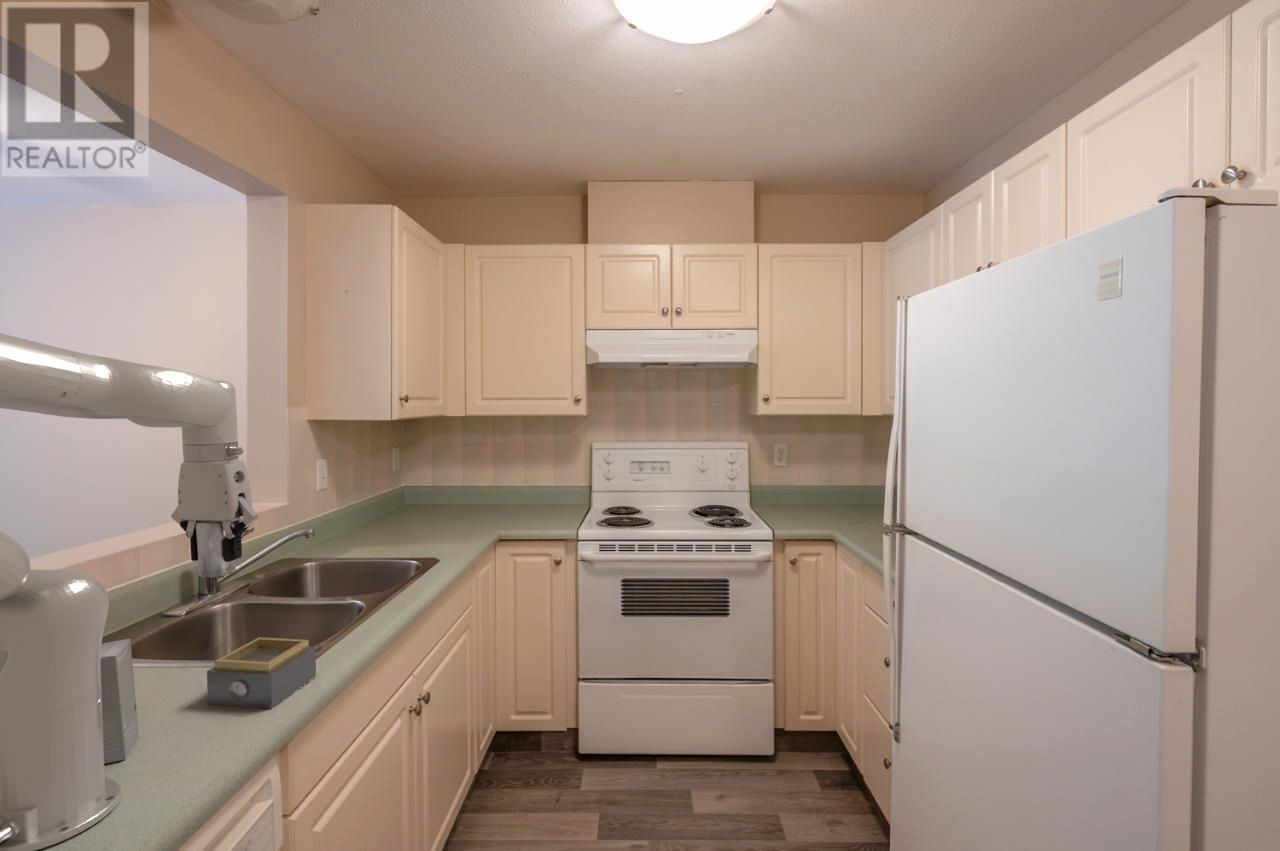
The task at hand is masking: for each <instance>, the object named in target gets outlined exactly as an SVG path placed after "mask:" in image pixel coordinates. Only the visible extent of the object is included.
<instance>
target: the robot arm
mask: <svg viewBox="0 0 1280 851" xmlns="http://www.w3.org/2000/svg"><path fill="white" fill-rule="evenodd" d="M236 395H237V394H236V388H235V386H234V385H233V383H231V382H230V381H225V380H215V379H213V378H210V377H206V376H203V375H198V374H195V373H190V372H187V371H183V370H178V369H174V368H173V369H172V368H167V367H162V366H156V365H150V364H143V363H137V362H133V361H128V360H124V359H123V360H121V359H118V358H113V357H107V356H101V355H92V354H88V353H87V354H86V353H85V352H84V353H83V352H80V351H79V352H78V351H74V350H70V349H65V348H61V347H57V346H53V345H49V344H45V343H41V342H37V341H33V340H28V339H25V338H21V337H18V336H13V335H9V334H5V333H1V332H0V409H4V410H5V409H6V410H13V411H20V412H29V413H35V414H36V413H37V414H42V415H50V416H56V417H61V418H63V417H64V418H76V419H77V418H79V419H87V420H90V419H91V420H119V419H120V420H122V419H124V420H126V419H127V420H128V421H130V422H131V423H133V424H135V425H139V426H141V427H146V428H147V427H148V428H170V429H171V428H181V438H182V441H181V442H182V456H183V457H182V458H183V462H181V464H180V467H179V468H180V469H179V475H178V483H177V507H176V508H175V509H174V511H173V512H172V513H171V515H170V516H171V519H172V520H174V521H175V522H176V523H177V524H178V525H179V526H180V528H181V529H182V530H183V531H184V532H185V535H186V537H187V538H189V540H190V542H189V543H190V545H189V546H190V557H191V558H190V559H191V561H192V562H198V555H197V536H196V522H198V521H214V522H221V523H222V525H223V528H224V531H225V534H226V537H227V538H225V539H223V551H224V561H225V562H230V561H233V560H235V559H236V560H238V559H240V558H241V557H243V551H242V550H243V549H242V548H243V547H242V536H243V535H245V533H246V531H247V529H249V528H250V527H251V525H252V524H253V523H255V522H256V521H257V520H258V518H259V515H258V513H257V512H256V511H255V510H254V509H253V501H252V499H253V498H252V490H251V483H250V479H249V474H248V471H247V468H246V464H245V462H244V460H243V459H241V460H240V459H239V458H240V456H242V455H243V452H244V450H243V449H244V448H243V447H239V439H238V438H239V437H238V418H237V415H238V414H237V396H236ZM241 517H243V519H242V518H241ZM231 522H233V524H234V528H233V527H232V524H231ZM109 598H110V597H109V593H108V591H107V589H106V587H105V586H104V585H103V583H101V582H100V581H99V580H98V579H96V578H95V577H93V576H91V575H89V574H85V573H82V572H77V571H71V570H61V569H60V570H57V569H31V561H30V557H29V555H28V553H27V552H26V550H25V548H24V547H23V546H22V545H21V544H20V543H19V542H18V541H16V540H15V539H13V538H12V537H11V536H10V535H8V534H6V533H5V532H3V531H1V530H0V651H6V652H7V653H8V656H7V659H6V662H5V664H4V666H3V668H2V669H1V671H0V851H39V850H41V849H44V848H48V847H50V846H54V845H56V844H58V843H61V842H63V841H66V840H68V839H70V838H72V837H74V836H76V835H78V834H80V833H82V832H84V831H85V830H86V831H87V829H89V828H91V827H92V826H94V825H95V824H97V823H98V822H100V821H101V820H102V819H104V818H105V817H106V816H108V814H110V813H111V812H112V811H113V810H114V808H115V807H116V806H117V805H118V804H119V802H120V800H121V797H122V789H121V788H122V785H120V783H119V782H118V781H116V780H114V779H109V778H106V777H105V775H106V774H105V764H104V746H103V719H102V692H101V663H100V660H101V645H102V642H103V638H104V637H103V636H104V631H105V627H106V623H107V622H106V621H107V619H108V618H107V617H108V613H109V606H110V599H109Z"/></svg>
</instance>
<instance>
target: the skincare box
mask: <svg viewBox="0 0 1280 851" xmlns="http://www.w3.org/2000/svg"><path fill="white" fill-rule="evenodd" d="M132 651H133V650H132V638H130V637H129V638H124V639H119V640H113V641H108V642H103V643H102V645H101V660H100V663H101V692H102V719H103V746H104V765H105V764H109V763H114V762H118V761H124V760H126V759H127V757H128V755H129V753H130V751H131V749H132V748H133V746H134V744H135V742H136V740H137V738H138V735H139V722H138V720H139V719H138V711H137V701H136V700H137V699H136V689H135V687H136V686H135V675H134V665H133V654H132V653H133V652H132Z"/></svg>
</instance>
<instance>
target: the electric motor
mask: <svg viewBox="0 0 1280 851" xmlns="http://www.w3.org/2000/svg"><path fill="white" fill-rule="evenodd" d="M231 524H232V527H233V528H234V524H233V522H231ZM196 536H197V555H198V560H197V567H198V568H197V572H198V577H199V578H200V577H201V578H217V577H222V576H226V575H229V574H231V573H234V572H236V571H237V562H236V561H237V559H235V560H233V561H230V562H225V561H224V551H223V539H225V538H227V537H226V534H225V531H224V528H223V525H222V523H221V522H214V521H198V522H196Z"/></svg>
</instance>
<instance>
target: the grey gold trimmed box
mask: <svg viewBox="0 0 1280 851" xmlns="http://www.w3.org/2000/svg"><path fill="white" fill-rule="evenodd" d="M309 642H310V640H309V639H299V638H298V639H296V638H295V639H294V638H277V637H260V636H259V637H257V638H255V639H253V640H251V641H250V642H248V643H246V644H244V645H241V646H240V647H238V648H237V649H235V650H232V651H231V652H229V653H227V654H226V655H224V656H221V657H220V658H218V659H215V660H214V666H213V667H212V668H210V669H208V670H206V682H207V683H206V686H207V688H206V689H207V705H208V706H219V707H222V706H223V707H233V708H234V707H237V708H250V709H265V710H272V708H273V709H274V708H276V707H277V706H278V705H279V703H280V704H281V703H282V702H284V701H285V700H286V699H288V698H289V697H291V696H292V695H294V694H295V693H296V692H297V691H296V690H298V689H299V688H300V687H302V686H303V685H304V684H305V683H307V682H308V681H310V680H311V679H312V678H313V677H315V676H316V677H317V667H316V666H317V665H316V664H317V662H316V660H317V656H316V646H313V645H311V646H310V644H309ZM310 682H311V681H310ZM307 684H308V683H307ZM303 687H304V686H303ZM303 687H302V688H303ZM300 689H301V688H300ZM300 689H299V690H300ZM299 690H298V691H299ZM295 691H296V692H295ZM294 692H295V693H294ZM291 694H292V695H291ZM290 695H291V696H290ZM287 697H288V698H287ZM284 699H285V700H284ZM283 700H284V701H283ZM276 705H277V706H276Z"/></svg>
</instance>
